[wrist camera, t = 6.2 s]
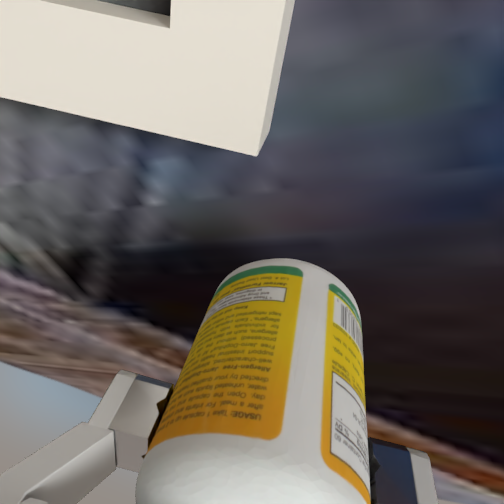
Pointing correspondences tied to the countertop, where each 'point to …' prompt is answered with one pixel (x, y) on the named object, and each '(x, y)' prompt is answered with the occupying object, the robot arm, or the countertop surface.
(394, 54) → the countertop surface
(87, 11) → the bore plate
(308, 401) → the supplement bottle
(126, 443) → the robot arm
